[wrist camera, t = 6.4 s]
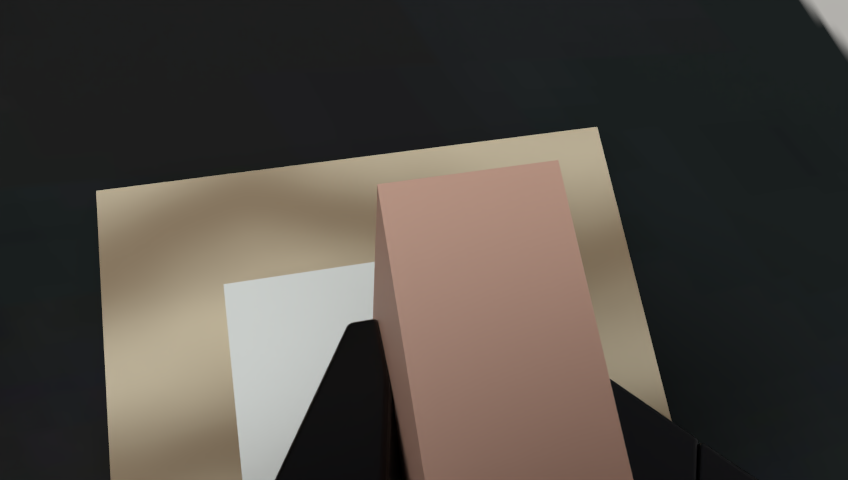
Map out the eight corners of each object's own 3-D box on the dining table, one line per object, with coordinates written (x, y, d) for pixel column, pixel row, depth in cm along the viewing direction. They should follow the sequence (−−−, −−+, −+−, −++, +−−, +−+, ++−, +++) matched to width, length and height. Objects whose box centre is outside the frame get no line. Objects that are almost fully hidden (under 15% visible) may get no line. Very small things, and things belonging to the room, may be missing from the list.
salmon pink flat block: (469, 530, 12) (741, 900, 3) (402, 544, 12) (492, 972, 3) (432, 317, 13) (563, 152, 4) (369, 327, 12) (368, 178, 4)
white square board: (561, 534, 20) (597, 559, 17) (274, 594, 18) (255, 633, 15) (505, 259, 22) (527, 237, 19) (244, 300, 21) (222, 283, 17)
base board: (739, 723, 19) (750, 733, 19) (140, 879, 17) (131, 896, 16) (591, 133, 24) (596, 126, 23) (103, 196, 22) (96, 190, 21)
